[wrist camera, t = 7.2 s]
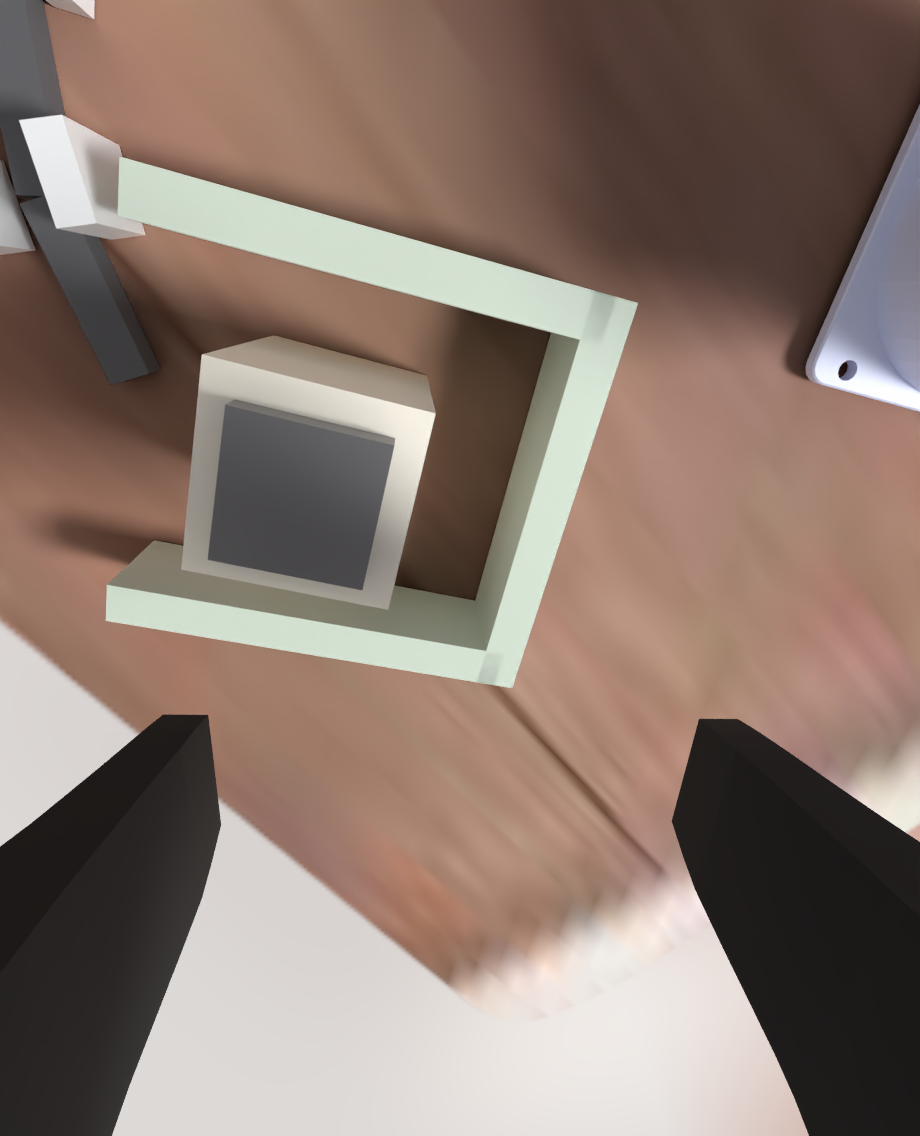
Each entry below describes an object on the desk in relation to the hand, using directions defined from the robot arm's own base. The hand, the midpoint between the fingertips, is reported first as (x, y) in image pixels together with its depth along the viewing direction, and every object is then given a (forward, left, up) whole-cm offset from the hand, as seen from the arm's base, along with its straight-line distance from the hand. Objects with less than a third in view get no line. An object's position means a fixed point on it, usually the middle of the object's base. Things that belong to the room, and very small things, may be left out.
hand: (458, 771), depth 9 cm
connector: (+3, -2, -10) cm, 11 cm away
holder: (+3, -2, -10) cm, 11 cm away
